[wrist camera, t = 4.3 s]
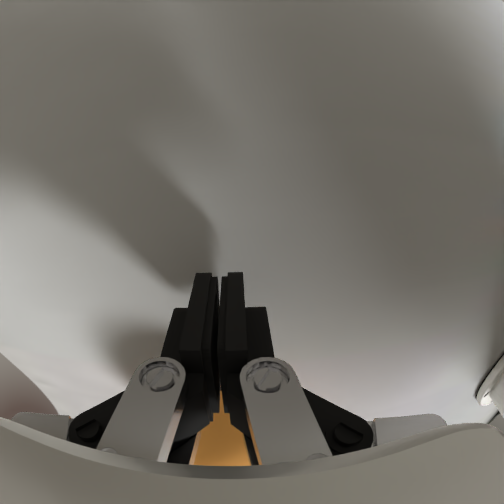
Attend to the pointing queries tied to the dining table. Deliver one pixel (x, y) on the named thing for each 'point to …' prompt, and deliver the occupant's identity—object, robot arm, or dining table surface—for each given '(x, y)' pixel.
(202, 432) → the ball
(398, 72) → the dining table surface
